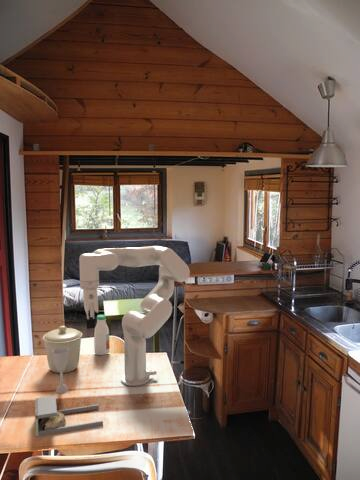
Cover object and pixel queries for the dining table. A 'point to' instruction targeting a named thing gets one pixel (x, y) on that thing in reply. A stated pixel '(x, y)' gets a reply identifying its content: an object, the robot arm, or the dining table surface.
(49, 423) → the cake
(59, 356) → the chalice
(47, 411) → the low barrier
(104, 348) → the milk bottle
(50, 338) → the canister
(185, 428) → the dining table surface
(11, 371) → the dining table surface
